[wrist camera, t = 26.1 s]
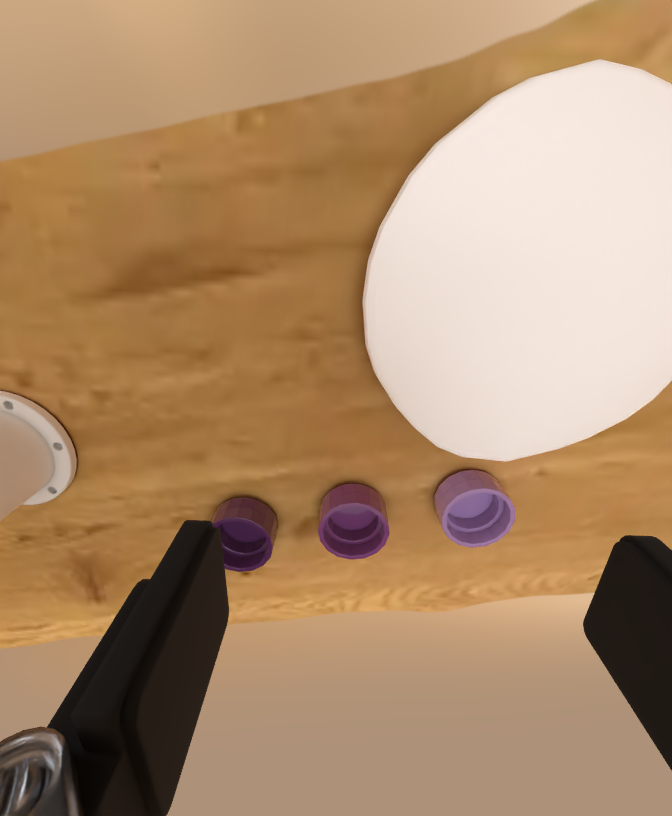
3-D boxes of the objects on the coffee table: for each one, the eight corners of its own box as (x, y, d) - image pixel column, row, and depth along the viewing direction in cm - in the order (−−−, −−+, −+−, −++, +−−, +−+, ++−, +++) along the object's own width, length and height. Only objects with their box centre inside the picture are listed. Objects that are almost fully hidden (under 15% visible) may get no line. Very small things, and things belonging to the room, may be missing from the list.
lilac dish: (434, 525, 41) (443, 550, 37) (431, 471, 38) (440, 493, 35) (499, 518, 40) (513, 543, 37) (500, 463, 38) (516, 484, 34)
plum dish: (325, 536, 42) (324, 562, 38) (315, 484, 39) (313, 507, 36) (387, 530, 41) (391, 555, 38) (381, 477, 39) (385, 499, 35)
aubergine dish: (224, 548, 43) (213, 574, 39) (207, 498, 40) (195, 521, 36) (283, 541, 42) (278, 568, 39) (270, 491, 40) (263, 514, 36)
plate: (632, -86, 20) (833, 278, 26) (555, 2, 26) (734, 279, 33) (285, 318, 25) (526, 534, 32) (290, 311, 31) (491, 494, 38)
